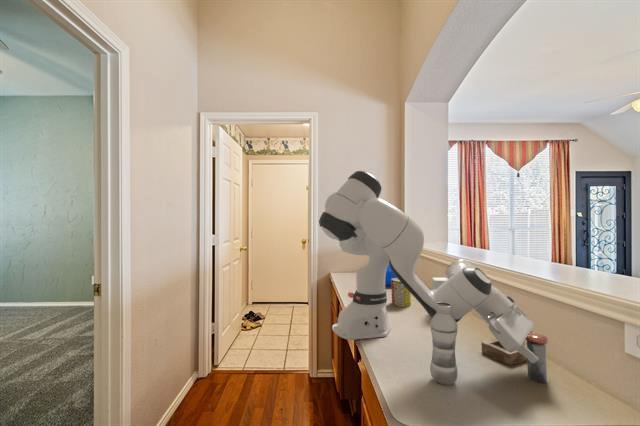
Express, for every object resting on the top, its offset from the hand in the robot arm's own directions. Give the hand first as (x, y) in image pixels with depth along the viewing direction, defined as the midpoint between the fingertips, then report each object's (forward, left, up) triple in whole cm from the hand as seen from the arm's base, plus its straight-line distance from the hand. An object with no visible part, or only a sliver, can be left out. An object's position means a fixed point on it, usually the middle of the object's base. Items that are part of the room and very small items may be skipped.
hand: (539, 354), depth 75 cm
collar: (+5, +13, -6) cm, 15 cm away
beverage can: (+10, +69, -7) cm, 70 cm away
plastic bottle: (-23, +10, -7) cm, 26 cm away
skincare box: (+16, +49, -7) cm, 52 cm away
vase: (+29, +107, -7) cm, 111 cm away
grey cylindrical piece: (0, +1, -6) cm, 7 cm away
